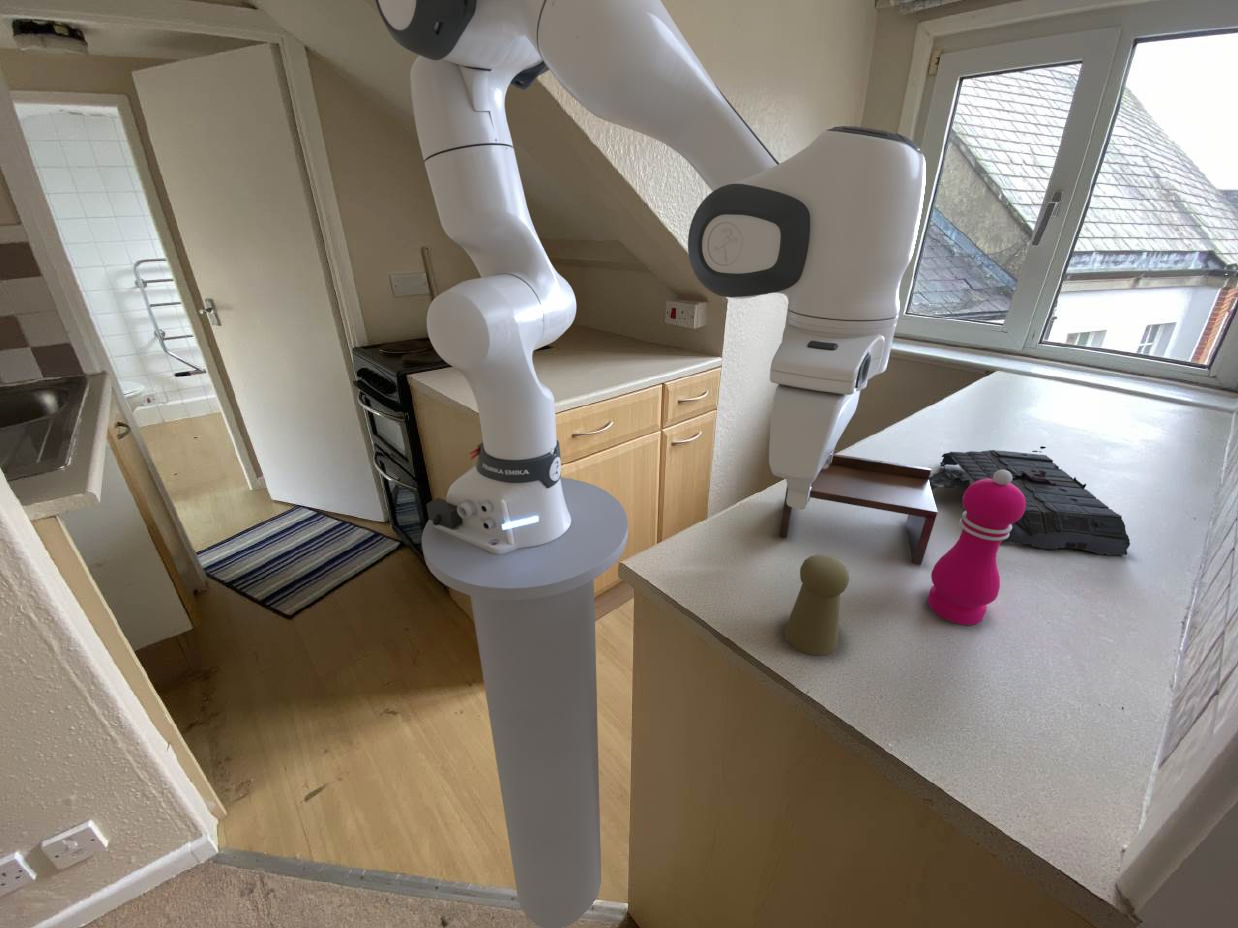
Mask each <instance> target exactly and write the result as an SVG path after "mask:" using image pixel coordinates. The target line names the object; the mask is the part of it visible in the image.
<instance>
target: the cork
mask: <svg viewBox="0 0 1238 928" xmlns="http://www.w3.org/2000/svg"><path fill="white" fill-rule="evenodd" d="M799 577H800V578H799V579H800V582H801V583H802V584H801V587H800V589H799V591H798V595H797V597H796V598H795V602H794V605H793V607H792V610H791V612H790V615H789V617H788V621H787V623H786V625H785V629H784V633H785V638H786V639H787V641H788V643H790V645H791V646H792V647H794V648H795V649H797V651H799V652H802V653H804V654H808V655H812V656H819V657H820V656H826V655H830V654H832V653H833V652H834V651H835V650H836V649H837V646H838V644H839V643H838V641H839V640H838V639H839V627H840V626H839V625H840V610H841V595H842V594H843V593H844V592H845V591H846V589H847V588H848V585H849V582H850V572H849V570H848V567H847V566H846V564H845V563H844V562H843V561H842V560H840V559H839V558H836V557H835V556H832V555H829V554H823V553H822V554H821V553H820V554H819V553H817V554H812V555H809V556H808V557H807V558H805V559H804V560H803V562H802V564H801V566H800V569H799Z"/></svg>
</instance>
